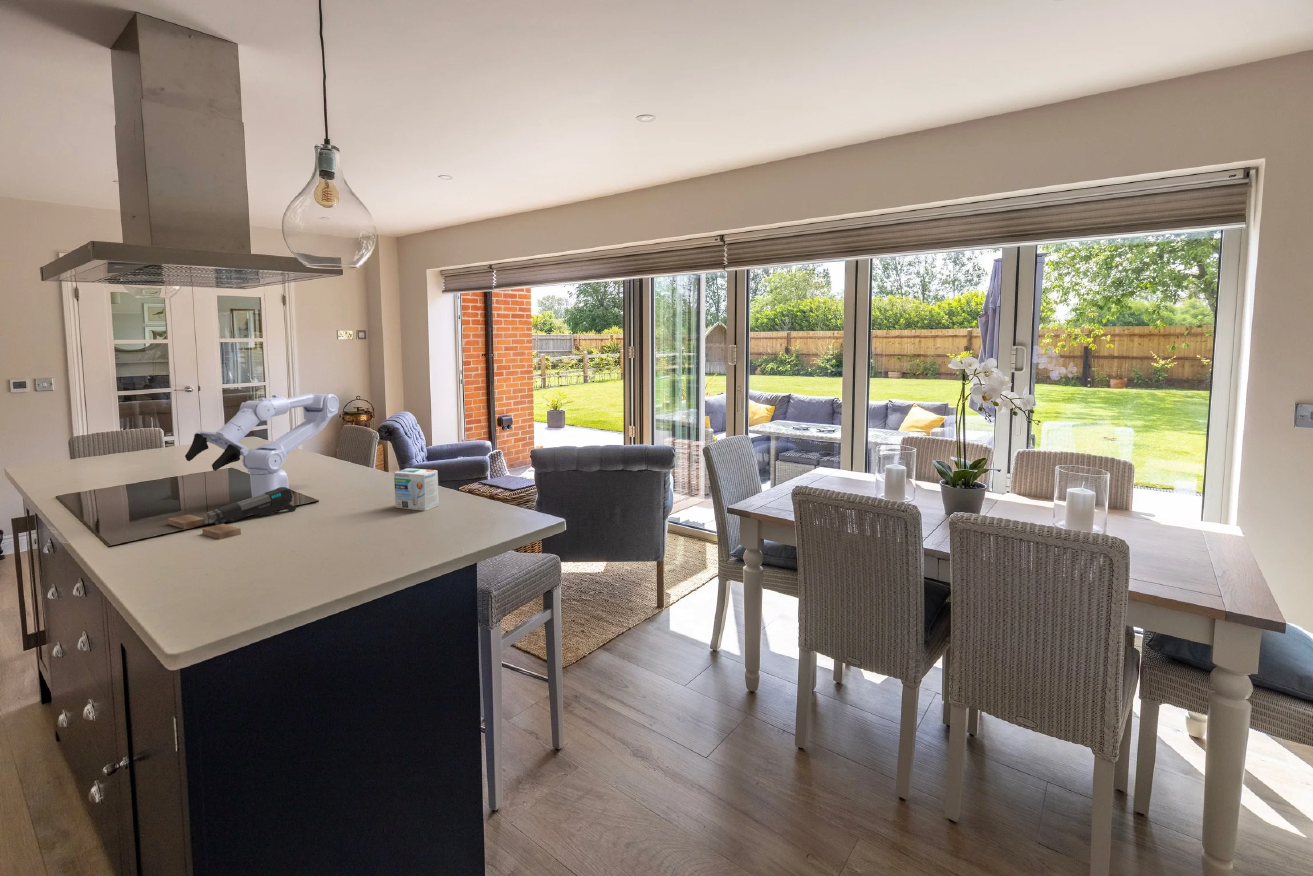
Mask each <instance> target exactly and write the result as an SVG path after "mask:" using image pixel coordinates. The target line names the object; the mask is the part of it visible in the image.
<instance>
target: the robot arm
mask: <svg viewBox="0 0 1313 876" xmlns="http://www.w3.org/2000/svg"><path fill="white" fill-rule="evenodd" d="M339 407H340V401H339V398H338V396H336V394H333V393H329V394H326V393H325V394H324V393H311V392H308V393H302V394H299V395H294V396H291V397H287V398H286V397H284V396H282V395H279V394H272V396H271V397H267V398H265V397H260V398H259V399H258V400H247V401H245V402H241V404H240V406H239V410H238V411H237V412H236V414H235V415H234V416H233V417H232V418H231V419H230V420H229V421H227V422H226V424H224V425H223V426H222V427H221V428H220V429H219V430H216V432H214V431H204V430H202V429H201V430H200V429H198V430H197V431H196V432H195V433H193V434H194V435H193V440H192V443H191V445H190V447H189V448H188V451H187V453H186V454H185V455H184V457H185V460H186V461H187V462H190V461H192V460H193V459H194V458H196V457H197V456H198V455H200V453H202V452H204V451H205V450H209V444H212V445H215V446H217V447H218V448H220V449H222V450H223V452H222V453H221V455H219V457H217V459H216V460H214V462H212V464H211V468H212V471H214V472H216V471H217V470H219V469H222V468H223V467H225V466H227V465H229V464H231V463H236V462H239V461H240V460H241V461H242V466H243V467H244V468H245V469H247V473H249V477H250V478H249V479H250V490H251V498H252V497H255V496H258V495H261V494H264V493H265V492H268V491H271V490H274V489H277V488H279V487H286V488H288V489H290V487H289V485H290V484H289V478H288V474H287V473H286V471H285V470H284V469H282V466H283V465H284V463H285V462H287V461H288V454H290V453H291V452H292V451H294V450H295V449H297V448H298V447H300V446H301V445H303V444H305V443H306V442H307V441H309V440H310V439H311V438H313V437H315V436H316V435H318V434H320V432H322V431H323V430H324V429H325V427H326V426H327V425H328V423H329V422H330V420H331V418H332V417H334V416H335V415H337V414H338V413H339ZM295 408H302V409H303V410H302V411H303V419H304V421H302V422H301V423H300V424H297V426H295V427H294V428H292V429H291V430H289V431H287V432H286V433H284V434H283V435H281V436H280V437H278V438H277V439H275V440H273V441H272V442H270V443H267V444H263V445H259V446H258V447H256V448H248V446H245V445H243V444H242V443H240V442H241V441H242V440H243V439H244V437H245V436H247V435H248V434H249V433H250V432H251V431H253V429H254V428H255V427H256V426H257V425H258V424H260V422H261V421H263V422H264V421H269V420H270V419H271V418H273V417H278V416H282V415H285V414H287V413H288V412H289V411H290V410H291V409H295ZM208 443H209V444H208ZM241 457H242V458H241Z"/></svg>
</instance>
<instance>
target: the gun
mask: <svg viewBox="0 0 1313 876" xmlns="http://www.w3.org/2000/svg"><path fill="white" fill-rule="evenodd" d="M292 501H293V494H292V491H291V489H290V488H289V489H288V488H286V487H279V488H277V489H274V490H271V491H268V492H265V493H264V494H261V495H258V496H255V497H252V496H251V497H250V498H246V499H244V500H241V501H238V502H232V503H228V504H225V505H222V506H220V507H217V508H216V509H213V510H210V511H207V512H206V514H207V518H208V519H210V520H211V521H212V522H213V524H215V525H220V524H224V523H226V522H230V523H233V522H236V521H238V520H242V519H244V518H245V517H249V516H251V515H254V516H257V515H259V516H261V517H262V516H264V515H267V514H269V513H274V514H277V513H279V512H280V511H281V510H282V509H285V510H287V511H290V512H295V511H296V509H297V506H294V505H293V504H291V503H292Z"/></svg>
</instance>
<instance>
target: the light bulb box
mask: <svg viewBox="0 0 1313 876" xmlns="http://www.w3.org/2000/svg"><path fill="white" fill-rule="evenodd" d="M438 473H439V472H438V469H437V470H436V469H426V468H425V469H424V468H423V469H421V468H411V467H408V468H407V467H406V468H404V469H401V470H397V471H395V472H393V479H394V480H393V481H394V498H395V499H394V503H395V508H398V509H406V510H414V511H424V512H426V511H428V510H432V509H434V508H436V507H438V506H440V500H439V475H438Z"/></svg>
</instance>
